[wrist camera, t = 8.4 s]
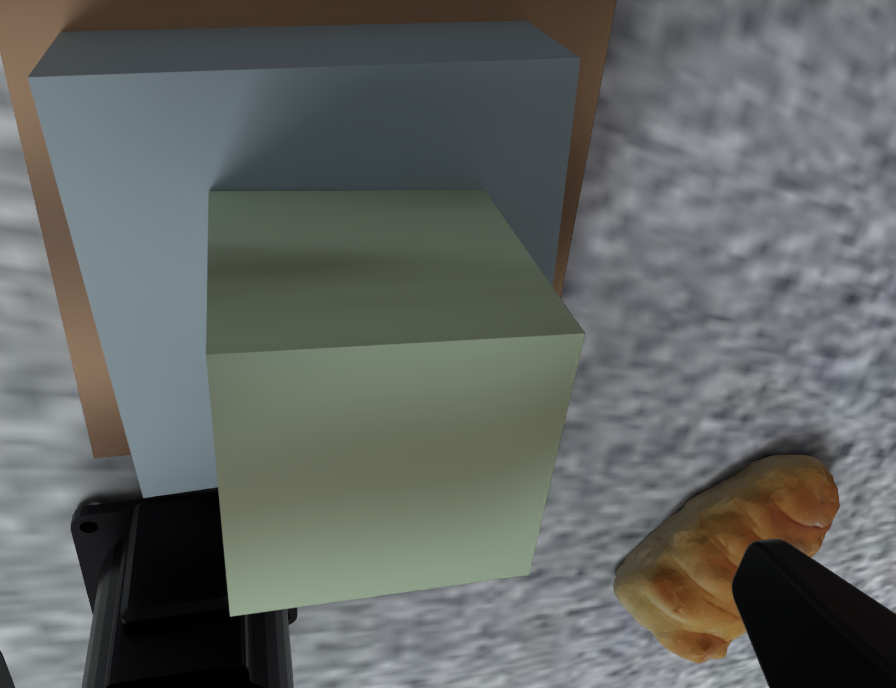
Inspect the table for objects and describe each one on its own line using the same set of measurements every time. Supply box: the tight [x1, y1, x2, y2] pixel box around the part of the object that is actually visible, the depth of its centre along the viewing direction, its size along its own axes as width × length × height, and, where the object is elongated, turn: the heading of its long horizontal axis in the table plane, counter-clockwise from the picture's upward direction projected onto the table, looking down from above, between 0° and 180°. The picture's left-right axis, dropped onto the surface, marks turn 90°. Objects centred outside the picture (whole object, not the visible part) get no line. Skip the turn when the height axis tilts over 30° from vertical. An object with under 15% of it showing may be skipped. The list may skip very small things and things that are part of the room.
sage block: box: [206, 190, 585, 617], centre depth 13 cm, size 5×5×5 cm
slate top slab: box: [28, 21, 581, 498], centre depth 16 cm, size 9×9×3 cm
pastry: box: [613, 455, 840, 663], centre depth 30 cm, size 9×7×4 cm
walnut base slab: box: [0, 0, 616, 458], centre depth 19 cm, size 12×12×3 cm
